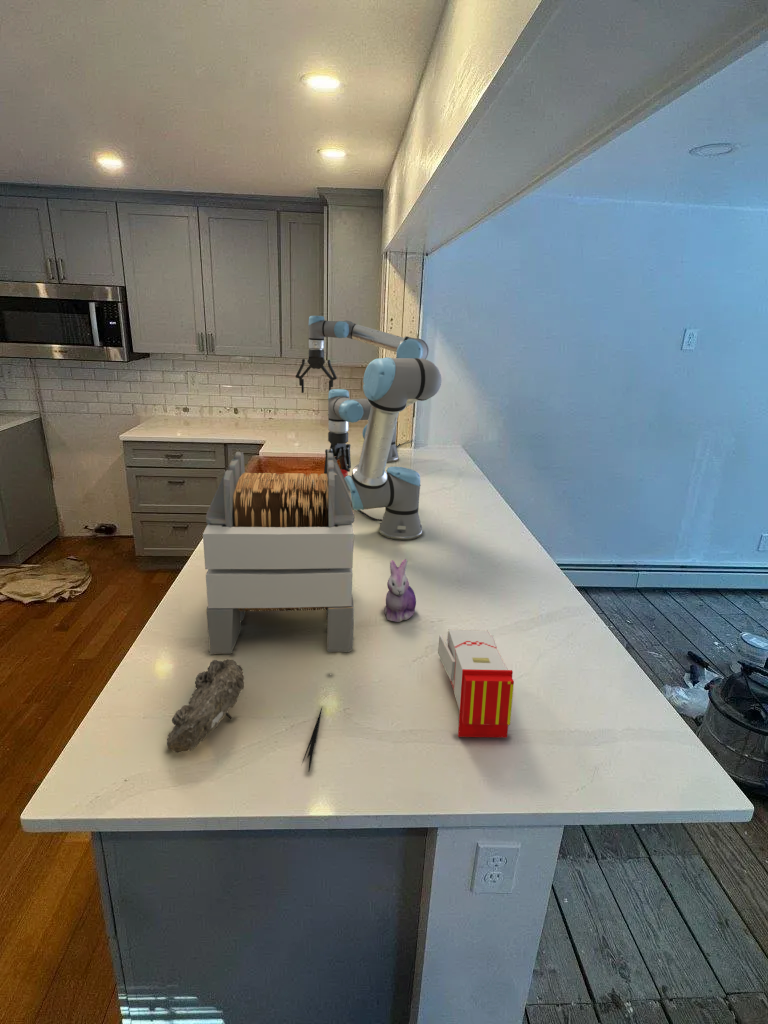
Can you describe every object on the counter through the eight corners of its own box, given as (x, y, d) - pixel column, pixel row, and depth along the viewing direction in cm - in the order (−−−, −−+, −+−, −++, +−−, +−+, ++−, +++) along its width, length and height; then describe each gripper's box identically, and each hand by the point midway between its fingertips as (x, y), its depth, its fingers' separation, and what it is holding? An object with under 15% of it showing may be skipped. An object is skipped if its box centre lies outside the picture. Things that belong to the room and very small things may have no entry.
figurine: (392, 627, 141) (395, 572, 136) (374, 608, 149) (376, 556, 144) (425, 619, 145) (429, 566, 140) (405, 601, 154) (408, 550, 149)
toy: (488, 613, 130) (523, 677, 101) (484, 667, 133) (517, 744, 104) (435, 612, 130) (455, 676, 101) (432, 666, 133) (451, 743, 103)
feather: (331, 679, 122) (336, 673, 122) (307, 777, 96) (313, 769, 95) (324, 675, 122) (329, 669, 121) (298, 772, 95) (304, 764, 95)
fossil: (192, 660, 117) (244, 628, 112) (224, 691, 120) (276, 661, 115) (142, 746, 98) (202, 712, 93) (182, 779, 101) (242, 748, 96)
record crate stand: (229, 585, 158) (221, 442, 144) (346, 584, 161) (350, 444, 148) (206, 656, 126) (193, 481, 112) (353, 652, 130) (358, 483, 116)
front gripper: (344, 426, 221) (344, 482, 229) (313, 434, 204) (313, 494, 212) (361, 428, 218) (359, 485, 225) (331, 437, 201) (330, 498, 208)
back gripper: (289, 348, 273) (290, 393, 280) (341, 350, 273) (340, 395, 280) (292, 347, 280) (292, 390, 287) (342, 349, 280) (341, 393, 287)
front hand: (337, 490), depth 219 cm, fingers closed on tin, 8 cm apart
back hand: (316, 393), depth 284 cm, fingers open, 13 cm apart
